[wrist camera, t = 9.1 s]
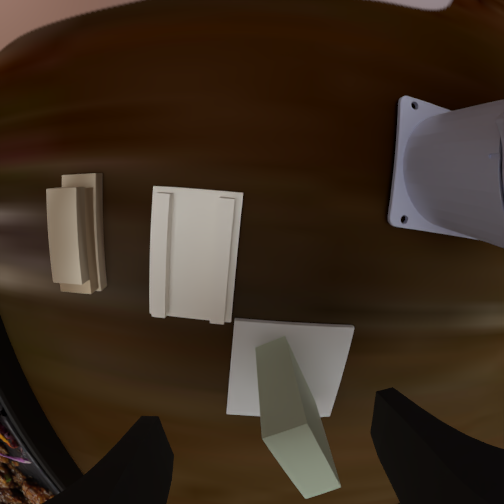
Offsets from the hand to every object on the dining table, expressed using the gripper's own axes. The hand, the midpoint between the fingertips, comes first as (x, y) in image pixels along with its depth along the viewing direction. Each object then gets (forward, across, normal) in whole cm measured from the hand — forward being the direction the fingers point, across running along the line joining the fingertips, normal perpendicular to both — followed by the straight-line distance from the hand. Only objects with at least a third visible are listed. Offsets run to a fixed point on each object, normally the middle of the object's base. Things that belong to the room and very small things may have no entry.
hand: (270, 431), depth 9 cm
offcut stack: (+11, +10, -6) cm, 16 cm away
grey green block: (+10, -2, +5) cm, 11 cm away
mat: (+10, -2, +5) cm, 12 cm away
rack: (+10, +3, -4) cm, 12 cm away
